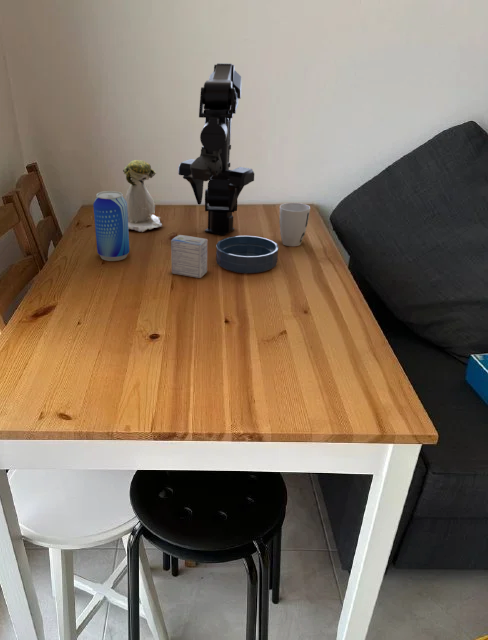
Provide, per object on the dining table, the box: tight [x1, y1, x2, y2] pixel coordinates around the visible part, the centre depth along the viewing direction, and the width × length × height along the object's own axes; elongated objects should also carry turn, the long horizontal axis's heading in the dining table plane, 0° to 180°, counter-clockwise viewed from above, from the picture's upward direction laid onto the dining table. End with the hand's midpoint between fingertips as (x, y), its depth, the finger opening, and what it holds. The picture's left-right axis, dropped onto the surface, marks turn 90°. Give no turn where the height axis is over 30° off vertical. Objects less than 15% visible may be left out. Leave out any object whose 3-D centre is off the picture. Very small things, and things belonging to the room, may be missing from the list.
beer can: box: [92, 190, 131, 262], centre depth 151 cm, size 8×8×16 cm
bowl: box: [215, 235, 280, 274], centre depth 150 cm, size 16×16×4 cm
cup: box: [279, 202, 311, 247], centre depth 161 cm, size 8×8×10 cm
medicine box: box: [170, 234, 208, 279], centre depth 143 cm, size 8×4×9 cm, turn 65°
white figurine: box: [122, 159, 163, 233], centre depth 172 cm, size 12×13×18 cm
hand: (214, 207), depth 149 cm, fingers open, 9 cm apart
